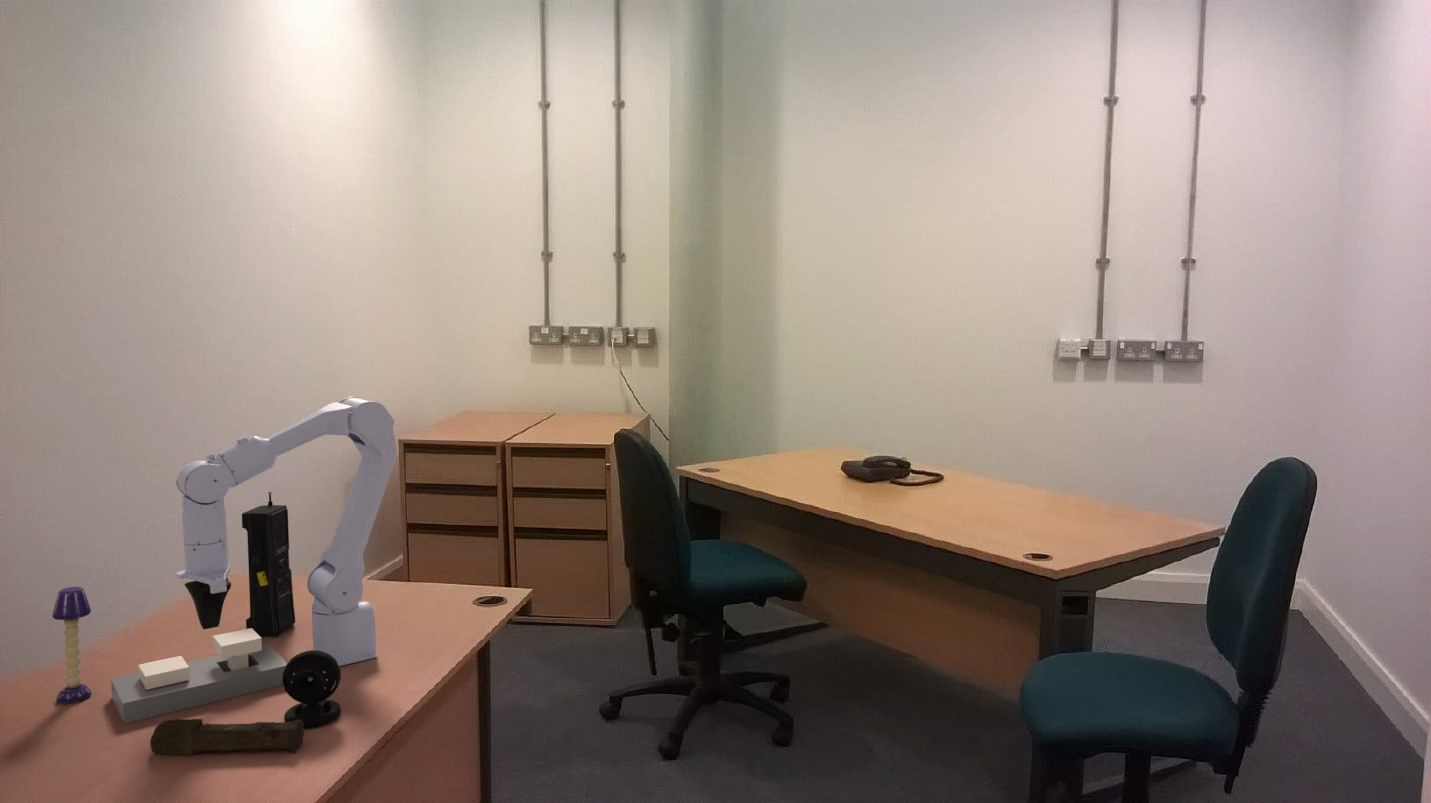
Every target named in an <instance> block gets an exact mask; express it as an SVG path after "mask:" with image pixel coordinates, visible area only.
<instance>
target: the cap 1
mask: <svg viewBox="0 0 1431 803" xmlns="http://www.w3.org/2000/svg"><path fill="white" fill-rule="evenodd" d="M186 662H187V661H185V659H184V658H183V656H182V655H179V656H173V657H169V658H164V659H160V660H154V661H150V662H145V663H141V664H138V673H139V678H140V680H141V682H142V684H143V685H144V687H145V689H146V690H147V689H152V688H158V687H163V686H167V685H172V684H175V683H178V682H183V681H187V680H190V674H189V666H188V665H187V663H186Z"/></svg>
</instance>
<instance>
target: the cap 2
mask: <svg viewBox="0 0 1431 803" xmlns="http://www.w3.org/2000/svg"><path fill="white" fill-rule="evenodd" d="M262 640H263V639H262V637H260V636H259V635H258V634H257V633H256V632H255V631H254V630H253V629H252V628H249V629H246V628H244V629H241V630H240V629H239V630H237V631H236V630H235V631H231V632H225V633H220V634H216V635H212V648H213V650H214V652H216V654H217V655H219V656H220V657H221V658H222V659H225V658H227V660H228V667H229V668H230V669H231V671H233V670H238V669H242V668H246V667H249V665H248V653H252V652H257V651H261V650H262V646H263V644H262Z"/></svg>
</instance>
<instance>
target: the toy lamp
mask: <svg viewBox="0 0 1431 803" xmlns="http://www.w3.org/2000/svg"><path fill="white" fill-rule="evenodd" d="M54 604H55V605H54V608H53V610H52V611H53V612H52V618H53V619H54V620H57V621H63V624H64V626H65V628H64V636H65V638H64V644H65V650H64V654H65V656H66V659H65V666H66V670H65V673H66V674H65V675H66V677H67V678H66V680H65V681H66V683H65V684H66V686H65V687H63V688H61V690H60V691H59V692H58V694H57V696H56V703H58V702H59V704H65V703H66V704H72V703H71V702H74V703H76V702H75V701H78V702H81V701H80V700H82V699H85V698H87V699H89V698H90V697H91V696H92V691H91V689H90V688H89V686H87V685H85V684H83V683H81V682H82V677H81V676H80V675H81V672H82V671H81V670H82V669H81V667H80V666H81V665H80V663H81V657H80V652H81V648H80V645H79V644H80V636H79V634H80V627H79V622H80V619H81V618H84V617H86V616H88V615H90V614H91V612H92V609H91V606H90V602H89V601H88V597H87V595H86V592H85V590H84V588H83V587H81V586H70V587H65V588H62V589H60V590H59V591H58V593H57V596H56V600H55V603H54ZM88 697H89V698H88ZM85 700H86V699H85ZM82 701H83V700H82Z"/></svg>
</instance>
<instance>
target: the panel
mask: <svg viewBox="0 0 1431 803" xmlns="http://www.w3.org/2000/svg"><path fill="white" fill-rule="evenodd" d="M185 662H186V663H187V665H188V666H189V674H190V680H187V681H183V682H178V683H175V684H172V685H167V686H163V687H158V688H152V689H147V690H146V689H145V687H144V685H143V684H142V682H141V680H140V678H139V672H134V673H130V674H125V675H121V676H116V677H111V678H110V684H111V686H110V688H111V699H112V698H113V699H112V701H113V700H114V701H113V702H115V703H114V705H115V707H117V708H116V710H117V709H118V710H117V712H118V711H119V712H118V714H119V713H120V714H119V716H120V718H121V721H122V720H123V721H122V723H123V722H124V723H125V724H130V723H134V722H138V721H141V720H146V719H149V718H153V717H154V718H155V717H157V715H158V716H162V715H166V714H170V713H174V712H178V711H182V710H187V709H191V708H194V707H199V706H203V705H206V704H212V703H214V702H218V701H223V700H228V699H231V698H236V697H239V696H243V695H248V694H251V693H256V692H261V691H263V690H268V689H272V688H276V687H281V686H283V683H282V677H283V671H284V669H285V666H286V665H287V663H288V662H287V661H286V659H284V658H283V657H282V656H281V655H280V654H279V653H278V652H277V651H276V650H275V649H274V647H273V646H272V645H270V644H263V645H262V650H261V651H257V652H252V653H248V665H249V667H246V668H242V669H238V670H233V671H231V669H230V668H229V667H228V660H227V658H225V659H222V658H221V657H220V656H219V655H218V654H217V655H214V656H208V657H205V658H200V659H196V660H190V661H185ZM124 723H123V724H124ZM125 724H124V725H125Z"/></svg>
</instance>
